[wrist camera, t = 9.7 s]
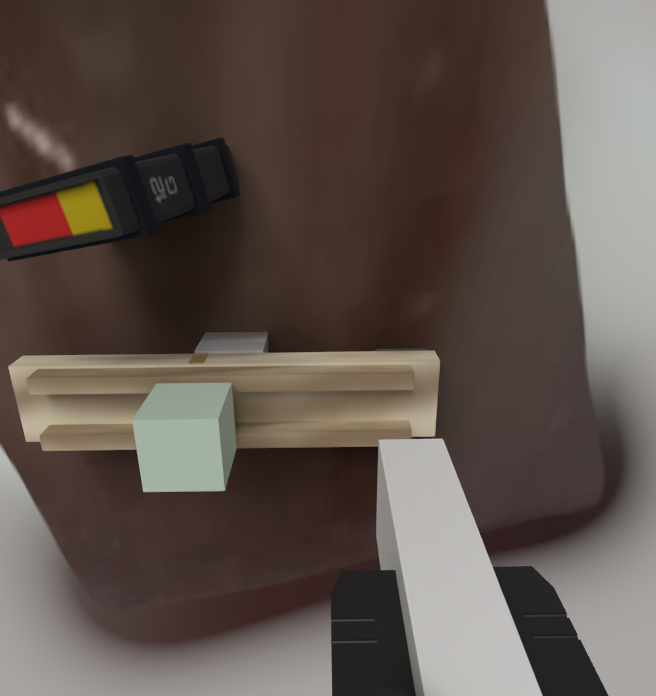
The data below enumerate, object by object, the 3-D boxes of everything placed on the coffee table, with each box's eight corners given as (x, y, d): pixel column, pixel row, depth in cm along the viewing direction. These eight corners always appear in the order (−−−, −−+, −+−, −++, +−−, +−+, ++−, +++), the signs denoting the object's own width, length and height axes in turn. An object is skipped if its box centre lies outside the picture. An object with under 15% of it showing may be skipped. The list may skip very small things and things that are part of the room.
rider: (164, 371, 39) (131, 419, 32) (235, 370, 39) (218, 418, 32) (172, 434, 41) (143, 492, 34) (240, 433, 41) (224, 490, 34)
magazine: (283, 183, 38) (132, 241, 26) (145, 212, 45) (-28, 271, 32) (268, 126, 37) (102, 160, 25) (128, 164, 43) (-60, 207, 31)
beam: (47, 334, 44) (-6, 373, 37) (425, 329, 44) (444, 367, 37) (62, 406, 46) (15, 456, 39) (421, 401, 46) (438, 450, 39)
